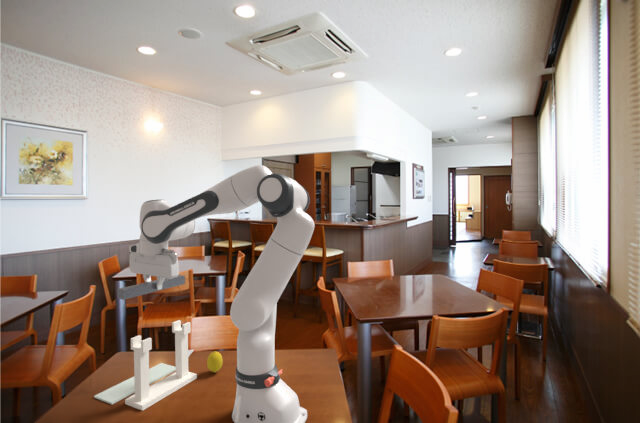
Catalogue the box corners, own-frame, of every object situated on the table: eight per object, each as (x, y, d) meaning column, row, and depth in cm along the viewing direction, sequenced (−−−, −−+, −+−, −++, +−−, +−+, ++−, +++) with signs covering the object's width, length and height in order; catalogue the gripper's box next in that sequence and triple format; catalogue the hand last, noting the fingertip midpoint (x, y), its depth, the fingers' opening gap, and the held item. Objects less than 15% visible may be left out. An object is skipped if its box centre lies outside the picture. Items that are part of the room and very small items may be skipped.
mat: (178, 369, 135) (178, 367, 135) (111, 404, 111) (111, 402, 111) (161, 364, 139) (161, 362, 139) (94, 397, 115) (94, 395, 115)
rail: (184, 283, 131) (185, 275, 130) (123, 299, 109) (123, 290, 109) (179, 282, 132) (179, 274, 132) (117, 298, 110) (117, 288, 110)
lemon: (218, 376, 129) (218, 355, 128) (204, 375, 130) (204, 353, 129) (225, 369, 134) (225, 348, 134) (211, 368, 135) (211, 347, 135)
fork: (194, 355, 153) (194, 348, 153) (183, 373, 132) (184, 365, 132) (187, 356, 152) (187, 349, 152) (175, 374, 132) (176, 366, 132)
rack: (196, 378, 128) (196, 321, 127) (142, 410, 108) (141, 343, 107) (180, 373, 131) (179, 318, 131) (125, 404, 112) (123, 339, 111)
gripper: (183, 249, 118) (183, 290, 119) (142, 244, 127) (142, 282, 128) (168, 251, 113) (168, 294, 113) (125, 246, 122) (125, 286, 122)
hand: (153, 288), depth 121 cm, fingers closed on rail, 3 cm apart
